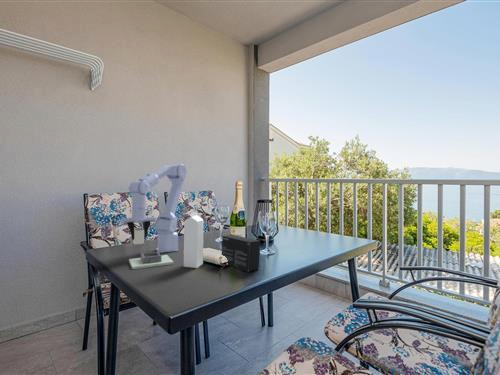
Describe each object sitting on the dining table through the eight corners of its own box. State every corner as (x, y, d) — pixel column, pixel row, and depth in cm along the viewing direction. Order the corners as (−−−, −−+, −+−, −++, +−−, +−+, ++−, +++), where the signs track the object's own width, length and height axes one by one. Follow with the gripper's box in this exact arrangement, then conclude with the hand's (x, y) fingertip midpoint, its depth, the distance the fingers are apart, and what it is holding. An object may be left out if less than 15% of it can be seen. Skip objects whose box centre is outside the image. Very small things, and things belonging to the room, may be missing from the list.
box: (260, 269, 112) (260, 240, 112) (248, 273, 108) (249, 242, 107) (232, 260, 124) (232, 233, 124) (220, 263, 120) (221, 235, 119)
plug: (142, 241, 125) (142, 227, 125) (144, 243, 122) (144, 228, 122) (133, 242, 123) (133, 227, 123) (134, 244, 120) (134, 229, 120)
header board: (166, 256, 127) (167, 249, 127) (173, 264, 116) (173, 255, 116) (128, 261, 119) (128, 253, 119) (132, 269, 109) (132, 260, 109)
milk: (183, 266, 113) (183, 213, 113) (190, 262, 119) (190, 211, 119) (197, 268, 112) (197, 213, 111) (203, 263, 118) (203, 212, 117)
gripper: (121, 209, 115) (121, 242, 115) (157, 208, 122) (157, 239, 123) (120, 208, 121) (120, 239, 122) (154, 207, 128) (154, 236, 129)
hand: (138, 239), depth 122 cm, fingers closed on plug, 4 cm apart
